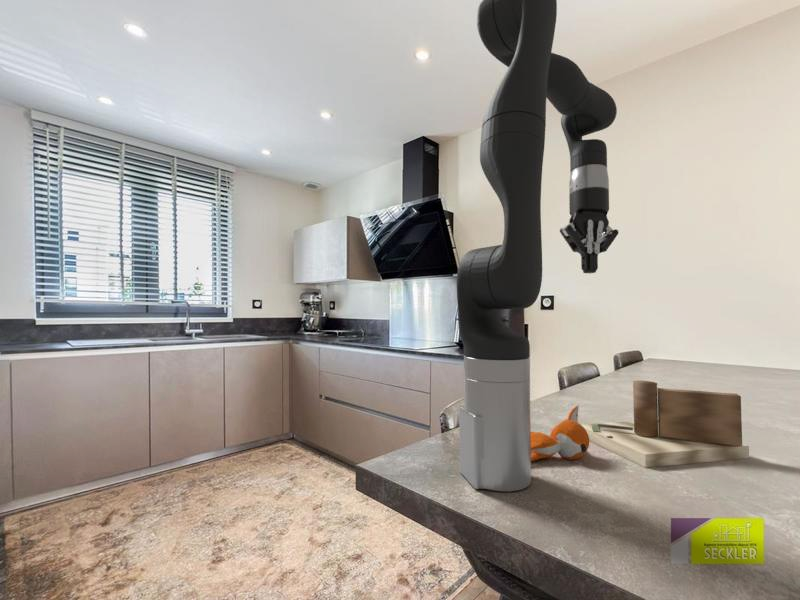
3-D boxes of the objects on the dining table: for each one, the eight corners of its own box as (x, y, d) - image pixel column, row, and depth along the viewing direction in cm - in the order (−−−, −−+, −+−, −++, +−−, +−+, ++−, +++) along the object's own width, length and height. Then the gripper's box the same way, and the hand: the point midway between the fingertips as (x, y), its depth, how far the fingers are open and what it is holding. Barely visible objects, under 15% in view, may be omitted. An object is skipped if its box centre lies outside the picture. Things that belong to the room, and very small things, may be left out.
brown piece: (598, 430, 70) (597, 380, 70) (597, 425, 73) (596, 377, 73) (744, 447, 61) (742, 390, 61) (736, 441, 64) (734, 386, 64)
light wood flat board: (645, 467, 59) (645, 452, 59) (576, 435, 74) (576, 423, 74) (749, 458, 63) (748, 444, 63) (663, 429, 78) (663, 418, 78)
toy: (543, 444, 55) (604, 411, 62) (448, 410, 74) (504, 388, 81) (551, 498, 55) (611, 459, 63) (455, 450, 74) (509, 424, 82)
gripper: (572, 182, 76) (573, 268, 75) (629, 188, 79) (631, 272, 78) (550, 194, 83) (550, 273, 82) (602, 200, 86) (603, 276, 85)
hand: (589, 272), depth 80 cm, fingers closed
